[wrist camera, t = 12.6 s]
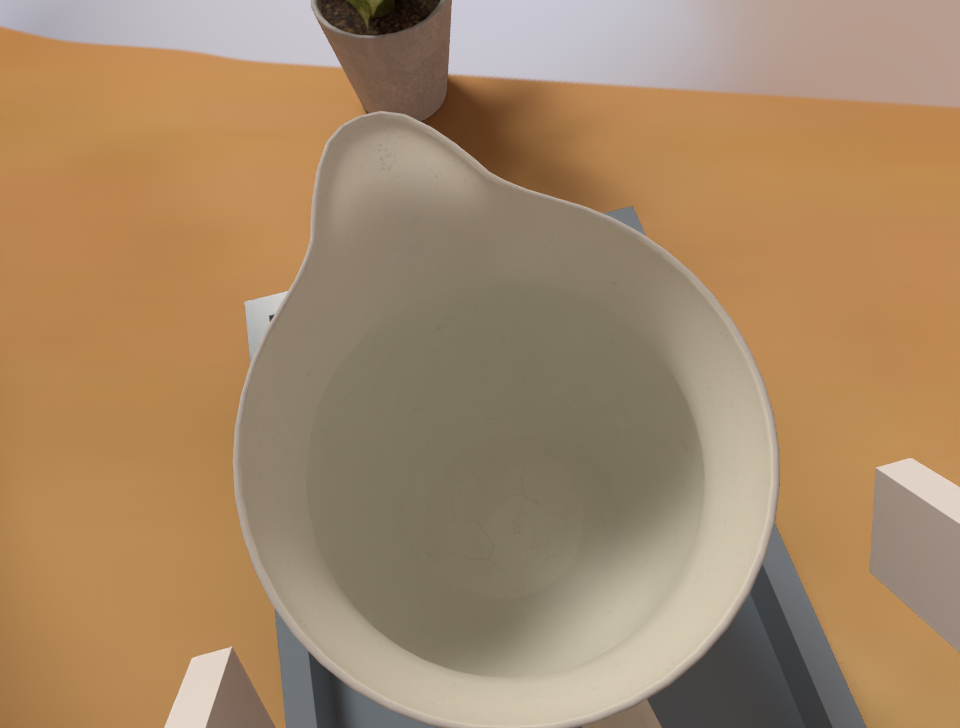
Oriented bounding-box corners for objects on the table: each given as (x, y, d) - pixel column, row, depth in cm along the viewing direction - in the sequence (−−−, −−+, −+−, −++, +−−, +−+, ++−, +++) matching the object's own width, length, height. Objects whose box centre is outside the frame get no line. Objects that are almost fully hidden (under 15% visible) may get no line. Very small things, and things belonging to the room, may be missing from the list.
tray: (271, 331, 28) (244, 301, 25) (621, 244, 29) (632, 206, 26) (350, 1007, 18) (320, 1079, 15) (877, 847, 19) (938, 889, 16)
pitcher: (479, 869, 19) (415, 1440, 6) (319, 398, 25) (129, 196, 13) (765, 717, 20) (1215, 923, 7) (541, 307, 27) (569, 39, 14)
